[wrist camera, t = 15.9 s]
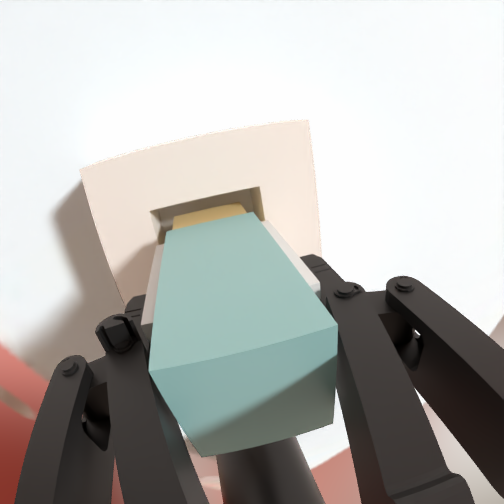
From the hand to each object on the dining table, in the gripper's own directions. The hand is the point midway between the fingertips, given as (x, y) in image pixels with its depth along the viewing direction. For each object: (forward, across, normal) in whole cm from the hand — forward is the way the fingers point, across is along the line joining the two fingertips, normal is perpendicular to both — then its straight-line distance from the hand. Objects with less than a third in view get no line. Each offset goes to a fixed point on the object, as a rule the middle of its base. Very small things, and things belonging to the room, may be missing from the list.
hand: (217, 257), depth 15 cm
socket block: (+5, 0, -2) cm, 5 cm away
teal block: (+3, 0, 0) cm, 3 cm away
